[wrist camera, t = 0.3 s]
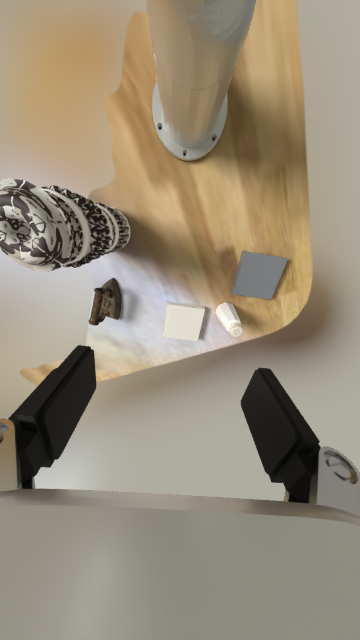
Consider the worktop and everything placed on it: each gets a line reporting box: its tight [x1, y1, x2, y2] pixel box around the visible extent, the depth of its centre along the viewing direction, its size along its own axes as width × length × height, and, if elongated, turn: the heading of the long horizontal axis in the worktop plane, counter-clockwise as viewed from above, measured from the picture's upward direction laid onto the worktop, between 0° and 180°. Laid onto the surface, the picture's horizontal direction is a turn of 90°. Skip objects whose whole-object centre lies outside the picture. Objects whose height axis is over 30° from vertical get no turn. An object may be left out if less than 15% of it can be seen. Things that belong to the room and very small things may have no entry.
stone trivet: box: [163, 301, 205, 341], centre depth 48 cm, size 10×10×2 cm
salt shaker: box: [215, 302, 243, 337], centre depth 43 cm, size 5×5×11 cm
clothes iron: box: [89, 278, 121, 325], centre depth 42 cm, size 7×11×10 cm, turn 160°
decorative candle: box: [0, 178, 130, 272], centre depth 27 cm, size 9×9×25 cm
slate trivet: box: [231, 251, 288, 299], centre depth 42 cm, size 10×10×2 cm
